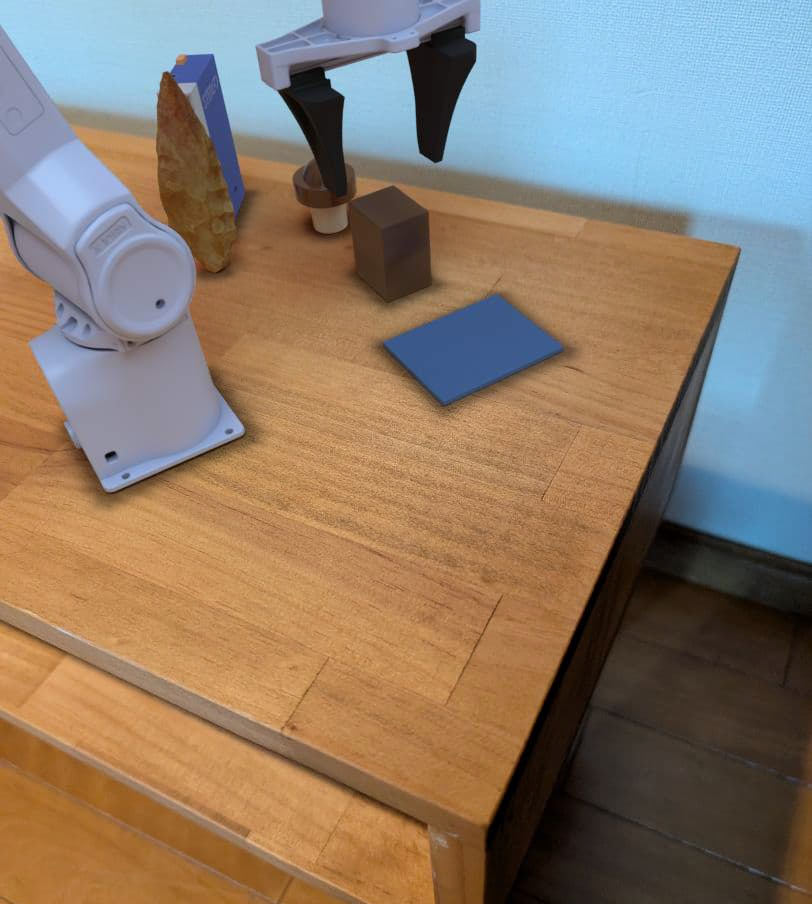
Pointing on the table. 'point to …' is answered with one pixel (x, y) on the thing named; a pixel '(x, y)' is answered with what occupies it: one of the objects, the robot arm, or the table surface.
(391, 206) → the block
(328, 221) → the mushroom
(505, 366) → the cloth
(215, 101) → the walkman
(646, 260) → the table surface
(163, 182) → the stone tool
